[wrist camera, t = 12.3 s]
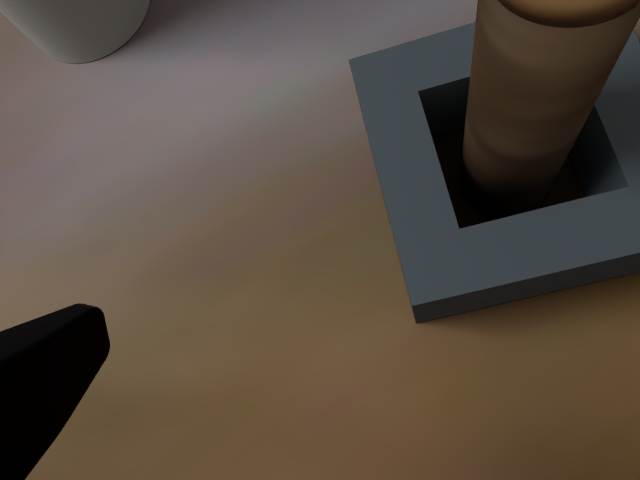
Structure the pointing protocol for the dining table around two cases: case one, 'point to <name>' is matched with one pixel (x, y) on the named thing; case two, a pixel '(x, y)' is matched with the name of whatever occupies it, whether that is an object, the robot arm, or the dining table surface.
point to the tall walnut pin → (534, 93)
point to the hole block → (510, 232)
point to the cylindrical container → (76, 25)
